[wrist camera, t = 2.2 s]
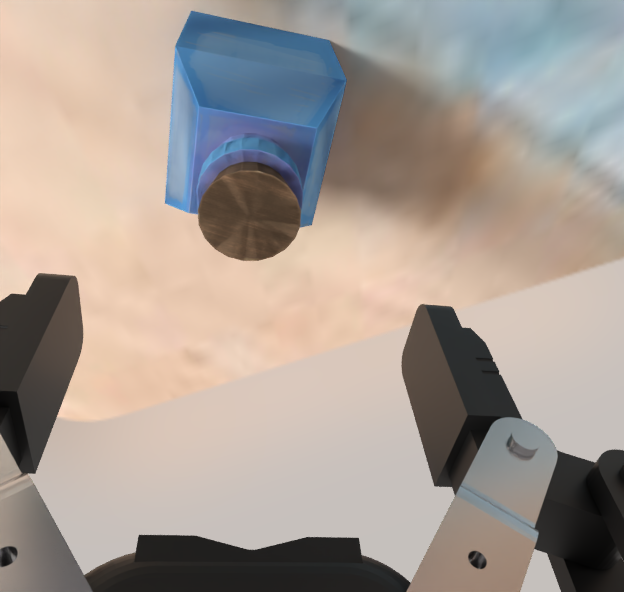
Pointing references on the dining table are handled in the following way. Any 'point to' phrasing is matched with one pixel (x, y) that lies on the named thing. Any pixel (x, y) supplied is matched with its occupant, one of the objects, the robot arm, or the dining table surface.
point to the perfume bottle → (250, 131)
